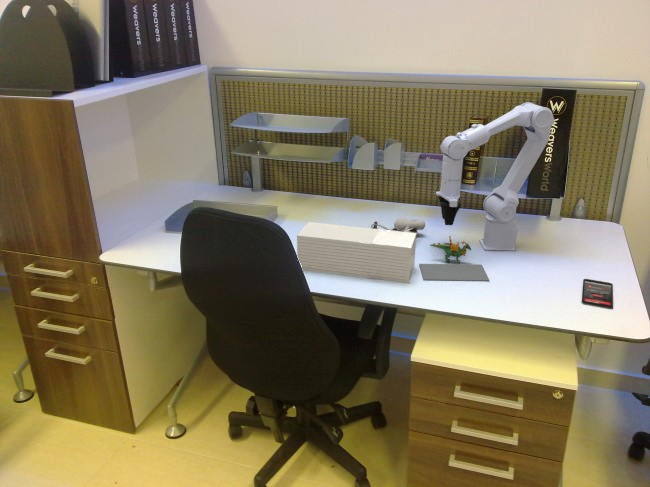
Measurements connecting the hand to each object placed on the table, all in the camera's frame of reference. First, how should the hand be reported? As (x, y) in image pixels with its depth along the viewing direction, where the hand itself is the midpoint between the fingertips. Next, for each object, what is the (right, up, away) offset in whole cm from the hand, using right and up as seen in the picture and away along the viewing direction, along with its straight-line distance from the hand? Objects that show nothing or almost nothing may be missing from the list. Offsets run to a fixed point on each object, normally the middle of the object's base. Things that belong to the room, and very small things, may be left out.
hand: (447, 221), depth 172 cm
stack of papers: (-28, -14, -7) cm, 32 cm away
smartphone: (+35, -20, -22) cm, 46 cm away
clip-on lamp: (-14, -4, +15) cm, 21 cm away
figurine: (0, -12, -4) cm, 12 cm away
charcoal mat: (-1, -15, -10) cm, 18 cm away
